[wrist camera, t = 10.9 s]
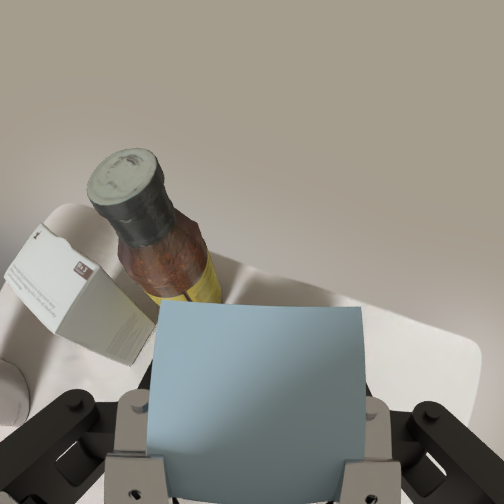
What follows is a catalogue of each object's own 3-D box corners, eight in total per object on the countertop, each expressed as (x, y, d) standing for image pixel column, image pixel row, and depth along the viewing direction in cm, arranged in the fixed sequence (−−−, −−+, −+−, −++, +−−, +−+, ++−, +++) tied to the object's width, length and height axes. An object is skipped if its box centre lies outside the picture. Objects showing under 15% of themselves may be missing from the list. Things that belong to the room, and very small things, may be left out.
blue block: (209, 434, 12) (146, 491, 4) (214, 359, 15) (161, 299, 6) (291, 437, 12) (360, 495, 4) (293, 362, 14) (361, 306, 6)
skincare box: (83, 330, 27) (-2, 277, 14) (107, 289, 30) (37, 217, 17) (135, 369, 26) (49, 338, 13) (161, 323, 28) (97, 259, 15)
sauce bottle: (209, 267, 32) (173, 116, 14) (233, 315, 29) (211, 182, 12) (157, 290, 30) (72, 159, 13) (177, 339, 27) (75, 241, 10)
